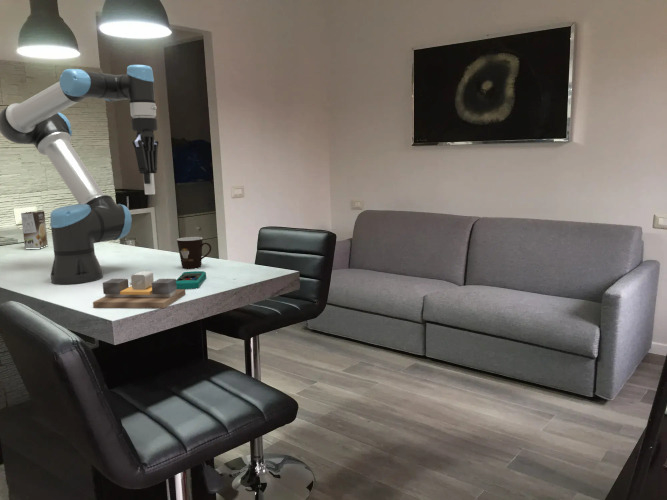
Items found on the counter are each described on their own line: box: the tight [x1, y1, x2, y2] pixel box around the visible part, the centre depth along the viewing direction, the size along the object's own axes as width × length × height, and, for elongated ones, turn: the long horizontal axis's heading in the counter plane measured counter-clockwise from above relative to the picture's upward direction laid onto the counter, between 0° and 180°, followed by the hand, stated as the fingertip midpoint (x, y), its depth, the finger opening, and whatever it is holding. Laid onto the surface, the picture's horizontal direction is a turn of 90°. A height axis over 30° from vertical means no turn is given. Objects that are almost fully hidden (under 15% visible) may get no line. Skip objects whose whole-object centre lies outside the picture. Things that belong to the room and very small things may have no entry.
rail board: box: [92, 278, 186, 309], centre depth 147 cm, size 19×14×6 cm
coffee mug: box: [176, 236, 212, 270], centre depth 190 cm, size 12×9×10 cm
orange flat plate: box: [120, 285, 152, 295], centre depth 147 cm, size 8×6×1 cm
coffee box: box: [20, 210, 49, 249], centre depth 243 cm, size 9×6×16 cm
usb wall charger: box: [129, 270, 155, 290], centre depth 146 cm, size 4×7×4 cm, turn 171°
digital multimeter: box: [176, 270, 207, 290], centre depth 166 cm, size 7×15×3 cm, turn 4°
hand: (150, 194), depth 175 cm, fingers closed
